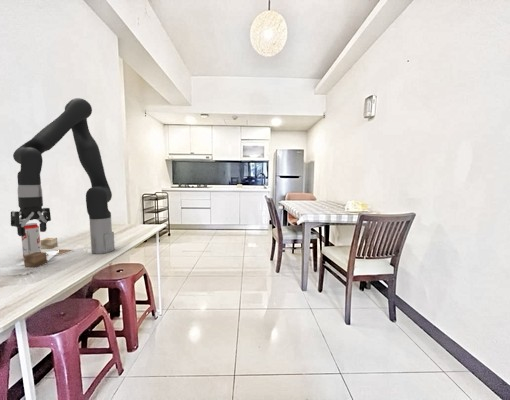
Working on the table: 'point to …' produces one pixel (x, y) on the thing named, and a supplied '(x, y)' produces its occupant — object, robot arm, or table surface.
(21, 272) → the table surface
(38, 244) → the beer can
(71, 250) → the tile
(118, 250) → the table surface
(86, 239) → the table surface
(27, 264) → the walnut cube
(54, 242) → the maple cube
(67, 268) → the table surface
